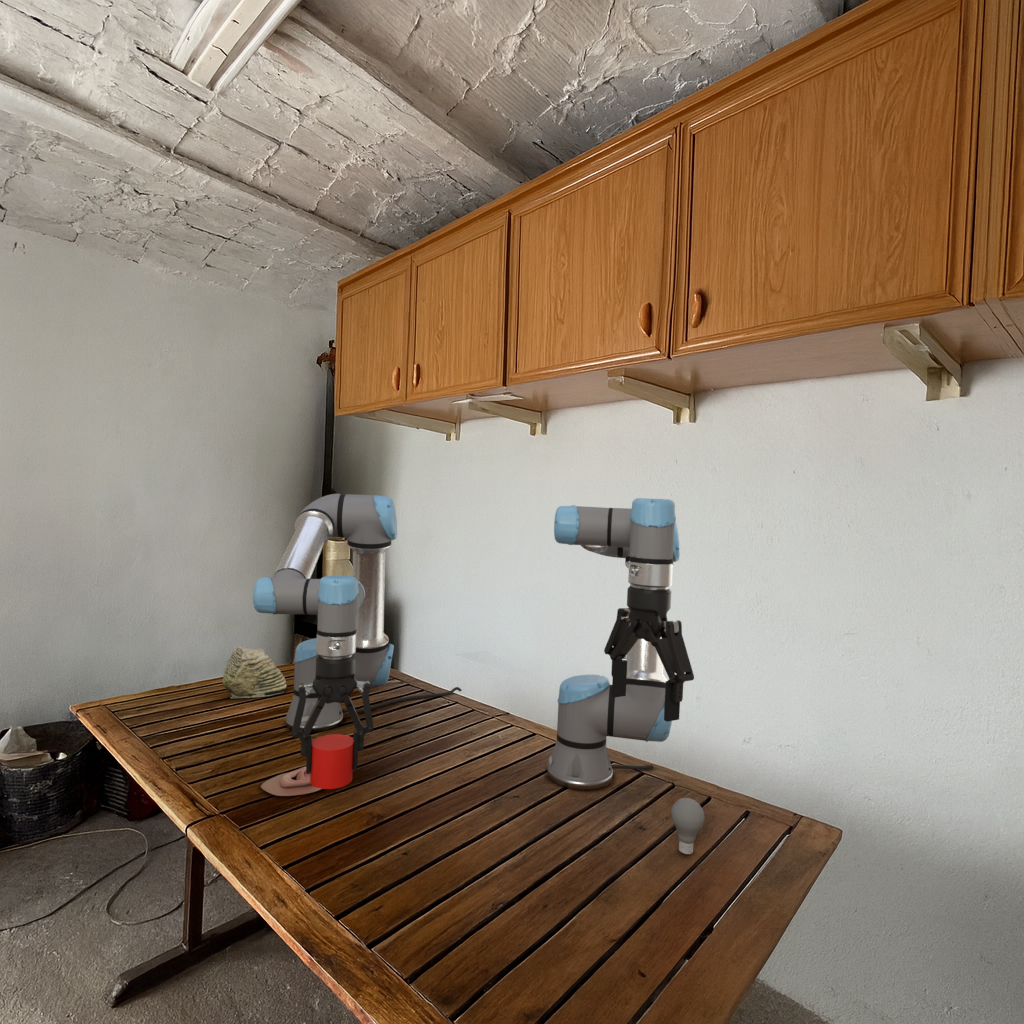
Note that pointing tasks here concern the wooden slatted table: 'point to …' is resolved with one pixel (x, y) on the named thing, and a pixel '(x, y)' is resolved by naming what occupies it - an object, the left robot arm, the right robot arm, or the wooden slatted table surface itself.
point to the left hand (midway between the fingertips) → (331, 768)
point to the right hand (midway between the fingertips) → (643, 707)
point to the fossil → (252, 674)
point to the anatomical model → (290, 784)
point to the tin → (331, 761)
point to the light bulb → (687, 822)
